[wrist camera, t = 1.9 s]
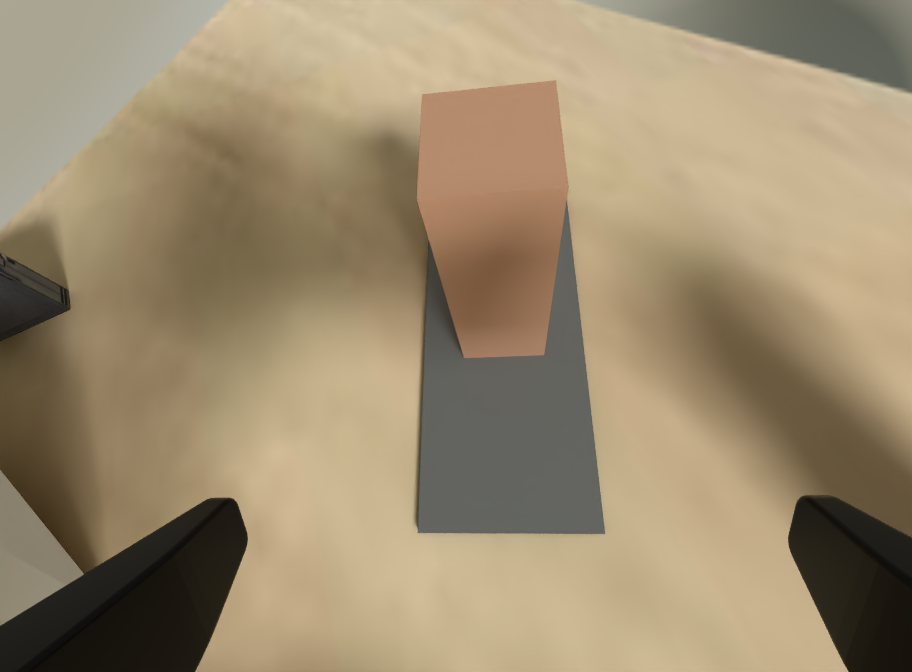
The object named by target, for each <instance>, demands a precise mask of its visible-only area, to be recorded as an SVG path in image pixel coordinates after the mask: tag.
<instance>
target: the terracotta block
mask: <svg viewBox="0 0 912 672" xmlns="http://www.w3.org/2000/svg"><path fill="white" fill-rule="evenodd" d="M567 193H568V179H567V171H566V162H565V154H564V145H563V137H562V128H561V120H560V111H559V103H558V94H557V86H556V81H546V82H537V83H527V84H518V85H508V86H499V87H489V88H480V89H470V90H461V91H451V92H442V93H432V94H423V95H422V107H421V126H420V145H419V164H418V184H417V202H418V205H419V208H420V212H421V215H422V218H423V222H424V225H425V229H426V232H427V235H428V239H429V242H430V245H431V249H432V252H433V255H434V259H435V262H436V266H437V269H438V272H439V276H440V279H441V282H442V286H443V289H444V292H445V296H446V299H447V303H448V306H449V309H450V313H451V316H452V319H453V323H454V326H455V329H456V333H457V336H458V340H459V343H460V346H461V350H462V353H463V356H464V358H484V357H510V356H536V355H544V353H545V346H546V339H547V332H548V325H549V318H550V311H551V304H552V297H553V290H554V283H555V276H556V269H557V263H558V256H559V249H560V242H561V235H562V228H563V221H564V214H565V207H566V200H567Z"/></svg>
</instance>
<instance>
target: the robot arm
mask: <svg viewBox="0 0 912 672" xmlns="http://www.w3.org/2000/svg"><path fill="white" fill-rule="evenodd" d="M247 541H248V536H247V531H246V528H245V525H244V522H243V519H242V516H241V513H240V510H239V507H238V504H237V502H236V501H235V500H234V499H232V498H210V499H207V500H205V501H203V502H202V503H200V504H199V505H197V506H195V507H194V508H192V509H190V510H189V511H187V512H185V513H184V514H182V515H181V516H179V517H177V518H176V519H174V520H172V521H171V522H169V523H167V524H166V525H164V526H163V527H161V528H159V529H158V530H156V531H154V532H153V533H151V534H149V535H148V536H146V537H144V538H143V539H141V540H140V541H138V542H136V543H135V544H133V545H131V546H130V547H128V548H126V549H125V550H123V551H122V552H120V553H118V554H117V555H115V556H113V557H112V558H110V559H108V560H107V561H105V562H104V563H102V564H100V565H99V566H97V567H95V568H94V569H92V570H90V571H89V572H87V573H86V574H84V575H82V576H81V577H79V578H77V579H76V580H74V581H72V582H71V583H69V584H68V585H66V586H64V587H63V588H61V589H59V590H58V591H56V592H54V593H53V594H51V595H50V596H48V597H46V598H45V599H43V600H41V601H40V602H38V603H36V604H35V605H33V606H32V607H30V608H28V609H27V610H25V611H23V612H22V613H20V614H18V615H17V616H15V617H13V618H12V619H10V620H9V621H7V622H5V623H4V624H2V625H0V672H195V671H196V669H197V667H198V665H199V663H200V661H201V659H202V657H203V654H204V652H205V650H206V648H207V646H208V644H209V642H210V639H211V637H212V635H213V632H214V630H215V627H216V625H217V622H218V620H219V617H220V615H221V612H222V610H223V607H224V604H225V602H226V599H227V597H228V594H229V592H230V589H231V586H232V584H233V581H234V579H235V576H236V574H237V571H238V568H239V566H240V563H241V561H242V558H243V555H244V553H245V550H246V547H247ZM788 543H789V548H790V552H791V554H792V557H793V559H794V561H795V563H796V565H797V567H798V569H799V571H800V573H801V576H802V578H803V580H804V582H805V584H806V586H807V588H808V590H809V592H810V594H811V597H812V599H813V601H814V603H815V605H816V607H817V609H818V611H819V613H820V616H821V618H822V620H823V622H824V624H825V626H826V628H827V630H828V632H829V634H830V637H831V639H832V641H833V643H834V645H835V647H836V649H837V651H838V653H839V655H840V657H841V659H842V661H843V663H844V664H845V666H846V668H847V670H848V672H912V538H911V537H910V536H908V535H906V534H904V533H902V532H900V531H898V530H896V529H895V528H893V527H891V526H889V525H887V524H885V523H883V522H881V521H880V520H878V519H876V518H874V517H872V516H870V515H868V514H866V513H865V512H863V511H861V510H859V509H857V508H855V507H853V506H851V505H850V504H848V503H846V502H844V501H842V500H840V499H838V498H836V497H834V496H829V495H805V496H802V497H800V498H799V499H798V500H797V503H796V507H795V511H794V515H793V519H792V523H791V527H790V531H789V536H788Z"/></svg>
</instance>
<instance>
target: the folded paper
mask: <svg viewBox="0 0 912 672" xmlns="http://www.w3.org/2000/svg"><path fill="white" fill-rule="evenodd" d="M82 575H84V573H83V572H82V571H81V570H80V569H79V567H78V566H77V565H76V564H75V562H74V561H73V560H72V559H71V557H70V556H69V555H68V554H67V552H66V551H65V550H64V549H63V547H62V546H61V545H60V544H59V542H58V541H57V540H56V539H55V537H54V536H53V535H52V534H51V532H50V531H49V530H48V529H47V527H46V526H45V525H44V524H43V522H42V521H41V520H40V519H39V518H38V516H37V515H36V514H35V513H34V511H33V510H32V509H31V508H30V506H29V505H28V504H27V503H26V501H25V500H24V499H23V498H22V496H21V495H20V494H19V493H18V491H17V490H16V489H15V488H14V486H13V485H12V484H11V483H10V481H9V480H8V479H7V478H6V476H5V475H4V474H3V473H2V471H1V470H0V625H2V624H4V623H5V622H7V621H9V620H10V619H12V618H13V617H15V616H17V615H18V614H20V613H22V612H23V611H25V610H27V609H28V608H30V607H32V606H33V605H35V604H36V603H38V602H40V601H41V600H43V599H45V598H46V597H48V596H50V595H51V594H53V593H54V592H56V591H58V590H59V589H61V588H63V587H64V586H66V585H68V584H69V583H71V582H72V581H74V580H76V579H77V578H79V577H81V576H82Z"/></svg>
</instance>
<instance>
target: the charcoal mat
mask: <svg viewBox="0 0 912 672" xmlns="http://www.w3.org/2000/svg"><path fill="white" fill-rule="evenodd" d="M418 533H551V534H605V530H604V521H603V512H602V503H601V495H600V486H599V477H598V468H597V460H596V451H595V442H594V433H593V425H592V416H591V407H590V399H589V390H588V381H587V372H586V364H585V355H584V346H583V337H582V329H581V320H580V311H579V302H578V294H577V285H576V276H575V267H574V259H573V250H572V241H571V233H570V224H569V215H568V206H567V200H566V207H565V214H564V221H563V228H562V235H561V242H560V249H559V256H558V263H557V269H556V276H555V283H554V290H553V297H552V304H551V311H550V318H549V325H548V332H547V339H546V346H545V353H544V355H536V356H510V357H484V358H464V356H463V353H462V350H461V346H460V343H459V340H458V336H457V333H456V329H455V326H454V323H453V319H452V316H451V313H450V309H449V306H448V303H447V299H446V296H445V292H444V289H443V286H442V282H441V279H440V276H439V272H438V269H437V266H436V262H435V259H434V255H433V252H432V249H431V245H430V242H429V245H428V272H427V299H426V326H425V353H424V380H423V408H422V435H421V462H420V489H419V516H418Z"/></svg>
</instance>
